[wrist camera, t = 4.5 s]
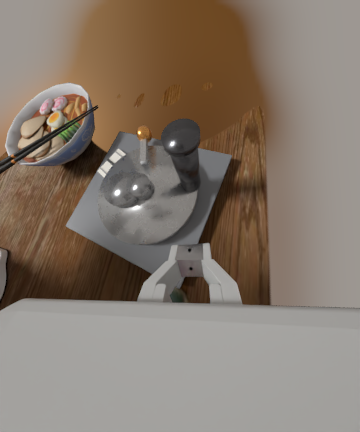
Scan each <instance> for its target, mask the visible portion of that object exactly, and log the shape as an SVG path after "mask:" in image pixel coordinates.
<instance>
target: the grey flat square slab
mask: <svg viewBox="0 0 360 432" xmlns="http://www.w3.org/2000/svg"><path fill="white" fill-rule="evenodd" d="M148 146H163V144H162V142H161V140H158V139H153V138H152V139H151V141H150V142H149V143H148ZM138 148H140V141H139V139H138V138H137V135H134V134H130V133H125V132H119V134H118V135H117V137H116V139H115V141H114V142H113V144H112V146H111V148H110V149H109V151H108V153H107V154H106V156H105V158H104V160H103V161H102V163H101V165H100V167H99V168H98V170H97V172H96V174H95V175H94V177H93V179H92V181H91V182H90V184H89V186H88V188H87V189H86V191H85V193H84V195H83V196H82V198H81V200H80V202H79V203H78V205H77V207H76V209H75V210H74V212H73V214H72V216H71V217H70V219H69V221H68V223H67V224H66V227H68V228H70V229H72V230H73V231H75V232H77V233H79V234H81V235H82V236H84V237H86V238H88V239H90V240H92V241H93V242H95V243H97V244H99V245H101V246H102V247H104V248H106V249H108V250H110V251H112V252H113V253H115V254H117V255H119V256H121V257H122V258H124V259H126V260H128V261H130V262H131V263H133V264H135V265H137V266H139V267H141V268H142V269H144V270H146V271H148V272H150V273H151V274H153V273H154V272H155V271H156V270H157V269H158V268H159V267H160V266H161V265H162V264H164V263H165V262H166V261H168V258H169V254H170V250H171V246H172V245H185V244H198V243H199V240H200V238H201V235H202V233H203V230H204V227H205V225H206V222H207V220H208V217H209V215H210V212H211V210H212V207H213V205H214V202H215V200H216V197H217V194H218V192H219V189H220V187H221V184H222V182H223V179H224V177H225V174H226V172H227V169H228V166H229V164H230V161H231V157H232V155H228V154H223V153H218V152H214V151H209V150H204V149H200V148H198V154H199V166H200V179H201V185H200V188H199V189H198V199H197V204H196V208H195V210H194V213H193V215H192V217H191V218H190V220H189V221H188V223H187V224H186V225H185V226H184V228H183V229H182V230H181V231H179V232H178V233H177V234H176V235H174V236H173V237H171V238H169V239H168V240H165V241H163V242H160V243H156V244H151V245H138V244H130V243H126V242H123V241H121V240H119V239H117V238H116V237H114V236H113V235H112V234H111V233H110V232H109V231H108V230H107V229H106V228H105V226H104V225H103V223H102V221H101V218H100V215H99V211H98V194H99V190H100V186H101V184H102V181H103V179H104V177H105V175H106V174H107V172H108V171H109V169H110V168H111V167H112V166H113V165H114V164H115V163H116V162H117V161H118V160H119V159H120V158H121V157H123V156H124V155H126V154H127V153H129V152H131V151H133V150H136V149H138ZM184 278H185V277H181V279H180V281H179V282H178V284H177V285H176V287H177V288H179V289H180V287H181V286H182V283H183V281H184Z"/></svg>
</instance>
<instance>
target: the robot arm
mask: <svg viewBox="0 0 360 432" xmlns="http://www.w3.org/2000/svg"><path fill="white" fill-rule="evenodd" d="M6 260H7V251H6V250H4V249H1V248H0V299H1V297H2V295H3V292H4V288H5V284H6ZM181 277H204V278H205V280H206V282H207V283H208V285H209V289H210V304H204V303H172V300H171V298H170V294H171V293H172V291H173V290H174V288H175V287H176V285H177V284H178V282H179V281H180V279H181ZM0 432H360V308H340V307H305V306H272V305H243V304H242V300H241V297H240V293H239V290H238V286H237V283H236V282H235V281H234V280H233V279H232V278H231V277H230V276H229V275H228V274H227V273H226V272H225V271H224V270H223V269H222V268H221V267H220V266H219V265H218V263H217V262H216V261H215V260H214V259H211V251H210V244H209V243H203V244H185V245H172V246H171V250H170V254H169V258H168V261H166V262H165V263H164V264H162V265H161V266H160V267H159V268H158V269H157V270H156V271H155V272H154V273H153V274H152V275H151V276H150V277H149V278H148V279H147V280H146V281H145V282H144V283H143V286H142V289H141V291H140V294H139V297H138V299H137V302H135V301H102V300H69V299H36V298H25V299H22V300H19V301H17V302H15V303H13V304H11V305H10V306H8V307H6V308H4V309H2V310H1V311H0Z"/></svg>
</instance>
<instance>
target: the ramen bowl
mask: <svg viewBox="0 0 360 432" xmlns="http://www.w3.org/2000/svg"><path fill="white" fill-rule="evenodd" d="M96 107H97V106H95V107H93V108H92V104H91V101H90V98H89V95H88V93H87V92H86V91H85V90H84V89H83V88H82V86H80V85H77V84H72V83H64V84H59V85H55V86H53V87H51V88H49V89H47V90H45V91H43V92H41V93H39V94H38V95H37V96H36V97H34V98H33V99H32V100H31V101H30V102H28V103H27V104H26V105H25V106H24V108H23V109H22V110H21V111H20V112H19V114H18V115H17V116H16V117H15V119H14V121H13V123H12V125H11V127H10V129H9V131H8V134H7V140H6V149H7V152H8V155H9V156H8V157H7V158H5V159H3V160H2V161H0V174H1V173H2V172H4V171H5V170H7V169H8V168H10V167H11V166H13V165H14V164H15V163H18V164H22V165H29V166H57V165H62V164H64V163H67V162H69V161H72V160H74V159H76V158H77V157H78V156H79V155H80V154H82V153H83V152H84V151H85V149H86V148H87V147H88V145H89V144H90V142H91V139H92V136H93V133H94V129H95V126H94V114H93V111H94V110H96V109H97V108H98V107H97V108H96ZM94 108H95V109H94Z"/></svg>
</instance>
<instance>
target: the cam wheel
mask: <svg viewBox="0 0 360 432" xmlns="http://www.w3.org/2000/svg"><path fill="white" fill-rule="evenodd" d="M137 138H138V139H139V141H140V148H138V149H136V150H133V151H131V152H129V153H127V154H126V155H124V156H123V157H121V158H120V159H119V160H118V161H117V162H116V163H115V164H114V165H113V166H112V167H111V168H110V169H109V171H108V172H107V174H106V175H105V177H104V179H103V181H102V184H101V186H100V190H99V194H98V211H99V215H100V218H101V221H102V223H103V225H104V226H105V228H106V229H107V230H108V231H109V232H110V233H111V234H112V235H113V236H114V237H116V238H117V239H119V240H121V241H123V242H126V243H130V244H138V245H151V244H156V243H160V242H163V241H165V240H168V239H169V238H171V237H173V236H174V235H176V234H177V233H178V232H179V231H181V230H182V229H183V228H184V226H185V225H186V224H187V223H188V221H189V220H190V218H191V217H192V215H193V213H194V210H195V208H196V204H197V199H198V189H199V188H200V185H201V179H200V166H199V154H198V146H199V143H200V129H199V126H198V125H197V123H196V122H194V121H192V120H190V119H178V120H175V121H173V122H171V123H170V124H168V125H167V127H165V129H164V130H163V132H162V135H161V142H162V144H163V146H148V143H149V142H150V141H151V139H152V132H151V130H150V129H149V128H148V127H146V126H140V127H139V128H138V129H137Z"/></svg>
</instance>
